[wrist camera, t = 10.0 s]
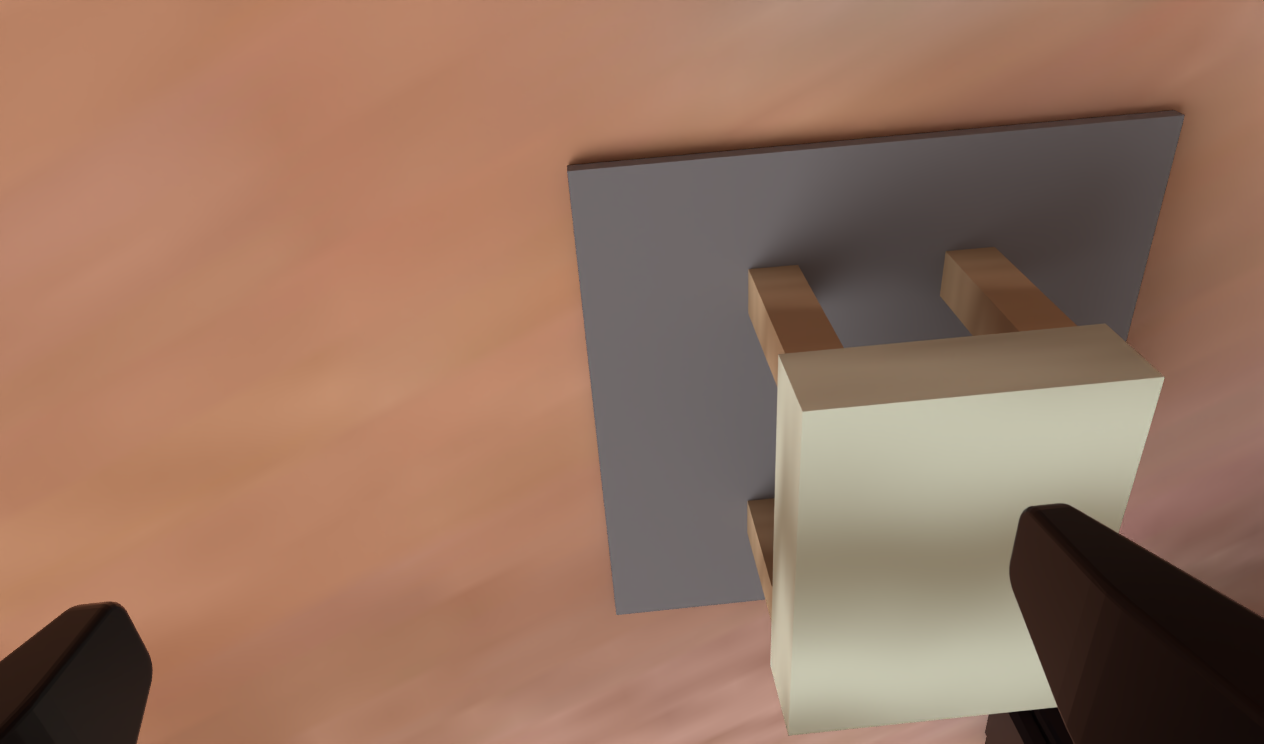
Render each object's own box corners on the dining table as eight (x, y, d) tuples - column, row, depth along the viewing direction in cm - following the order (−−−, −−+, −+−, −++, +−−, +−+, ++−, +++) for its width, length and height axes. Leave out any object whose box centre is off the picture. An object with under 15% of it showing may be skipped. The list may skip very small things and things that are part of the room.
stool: (958, 519, 26) (1067, 706, 20) (738, 541, 26) (788, 735, 20) (1006, 234, 21) (1164, 377, 16) (737, 258, 21) (802, 411, 16)
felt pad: (1174, 110, 20) (1184, 114, 20) (1061, 558, 28) (1067, 567, 27) (567, 165, 20) (567, 171, 20) (615, 605, 27) (616, 615, 27)
